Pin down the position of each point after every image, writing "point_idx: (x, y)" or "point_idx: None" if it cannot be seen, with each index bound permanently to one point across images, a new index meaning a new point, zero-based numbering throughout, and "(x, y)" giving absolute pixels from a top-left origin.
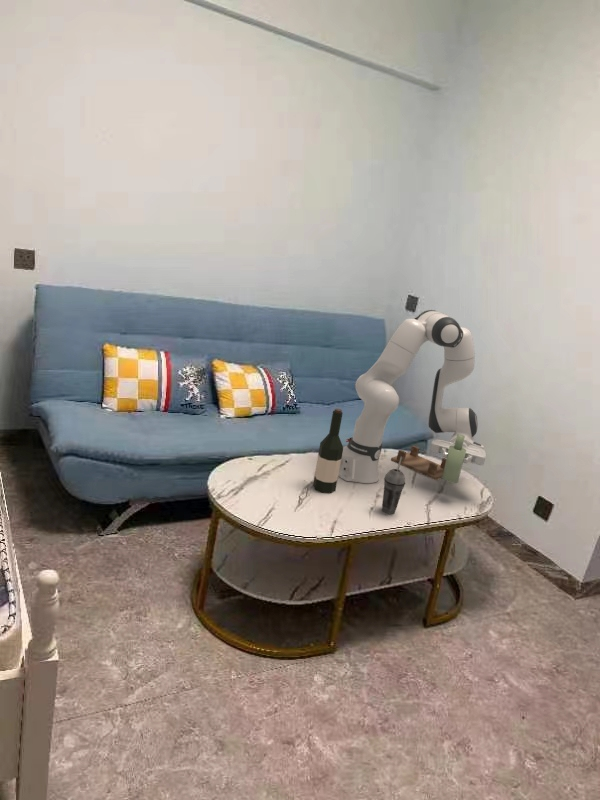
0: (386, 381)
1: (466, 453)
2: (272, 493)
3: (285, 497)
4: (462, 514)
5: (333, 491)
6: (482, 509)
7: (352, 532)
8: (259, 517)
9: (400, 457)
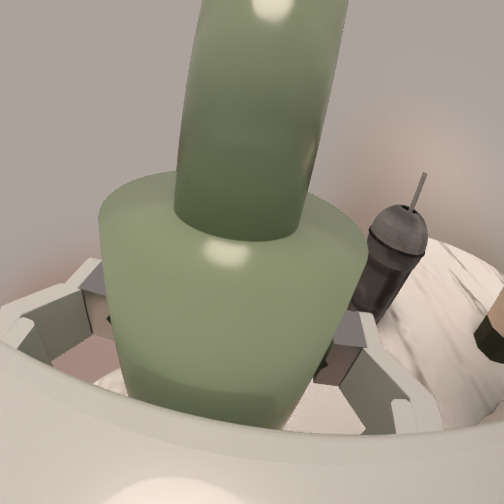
0: None
1: (34, 359)
2: (496, 297)
3: (483, 294)
4: None
5: (476, 340)
6: None
7: None
8: (453, 251)
9: (425, 174)
